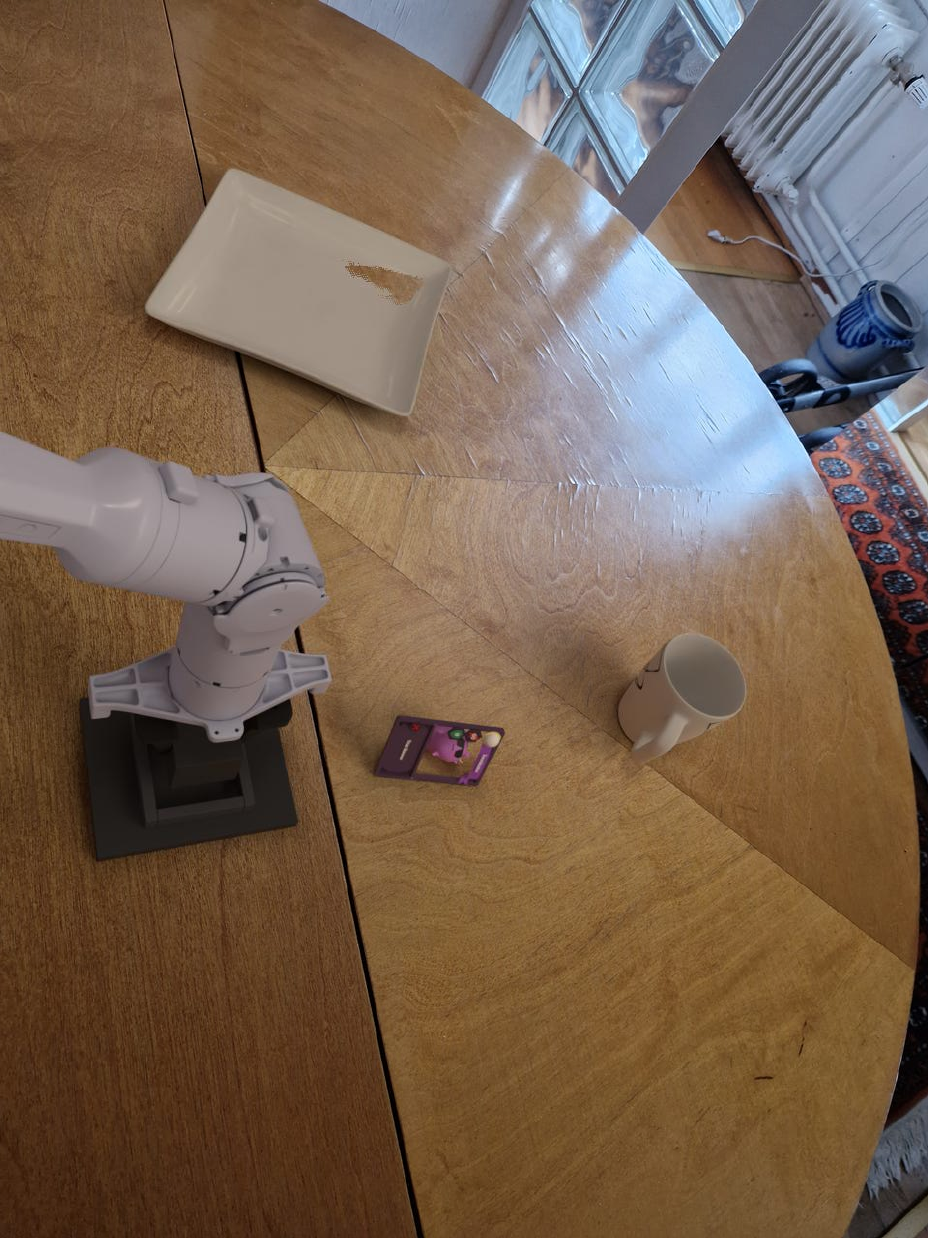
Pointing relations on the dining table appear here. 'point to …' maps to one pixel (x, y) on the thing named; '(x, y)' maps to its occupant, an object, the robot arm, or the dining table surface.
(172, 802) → the base pad
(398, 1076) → the dining table surface
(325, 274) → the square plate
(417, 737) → the game card
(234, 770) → the small block
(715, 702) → the mug
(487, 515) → the dining table surface
